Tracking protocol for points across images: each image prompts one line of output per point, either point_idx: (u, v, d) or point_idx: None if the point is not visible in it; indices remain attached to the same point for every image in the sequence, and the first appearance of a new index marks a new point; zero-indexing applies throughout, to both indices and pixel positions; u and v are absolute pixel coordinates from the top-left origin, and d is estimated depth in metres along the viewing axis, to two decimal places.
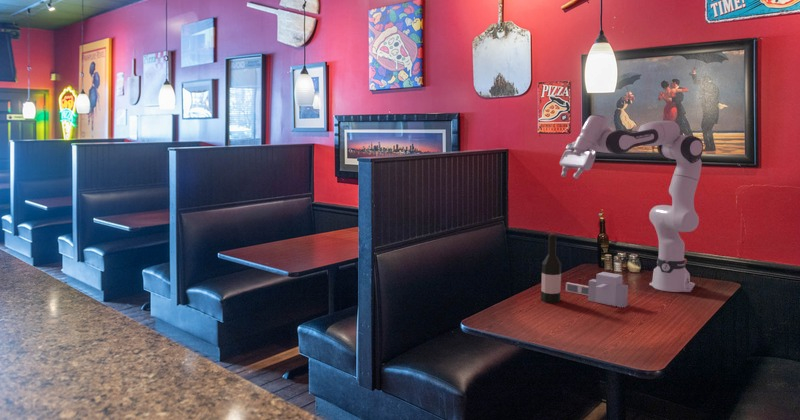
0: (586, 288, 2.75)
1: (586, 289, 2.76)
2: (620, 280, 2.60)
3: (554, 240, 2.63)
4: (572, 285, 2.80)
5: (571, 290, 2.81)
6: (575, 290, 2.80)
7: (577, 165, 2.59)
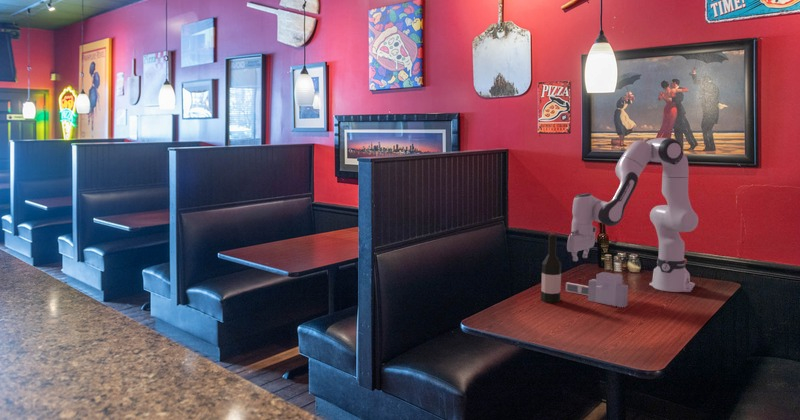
0: (586, 288, 2.75)
1: (586, 289, 2.76)
2: (620, 280, 2.60)
3: (554, 240, 2.63)
4: (572, 285, 2.80)
5: (571, 290, 2.81)
6: (575, 290, 2.80)
7: None
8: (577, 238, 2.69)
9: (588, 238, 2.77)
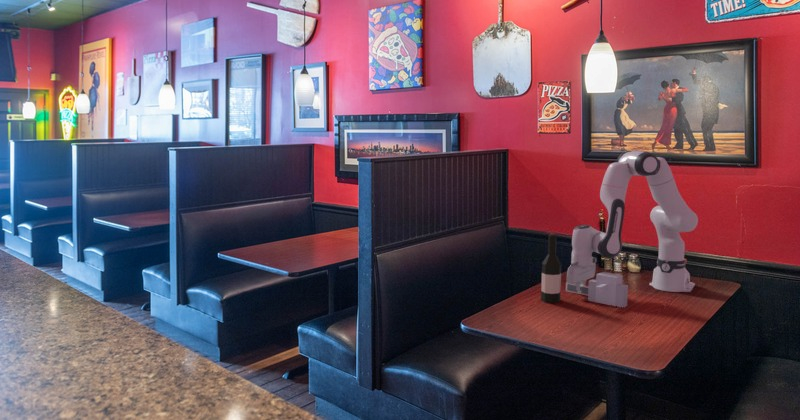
0: (586, 288, 2.75)
1: (586, 289, 2.76)
2: (620, 280, 2.60)
3: (554, 240, 2.63)
4: (572, 285, 2.80)
5: (571, 290, 2.81)
6: (575, 290, 2.80)
7: None
8: (576, 270, 2.71)
9: (588, 269, 2.79)
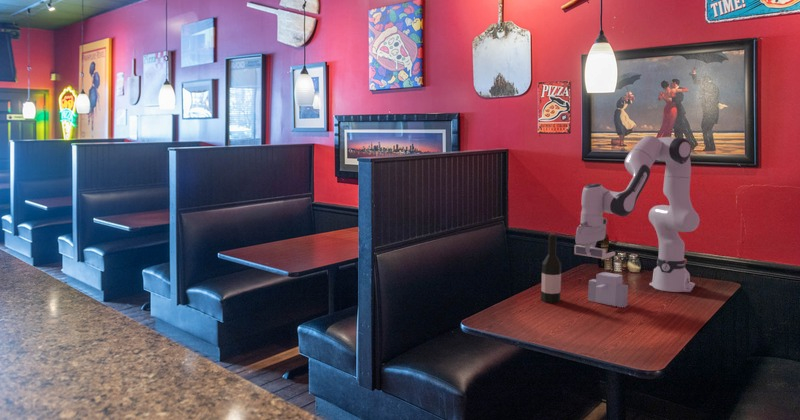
0: (596, 250, 2.62)
1: (596, 251, 2.63)
2: (620, 280, 2.60)
3: (554, 240, 2.63)
4: (581, 247, 2.67)
5: (580, 252, 2.68)
6: (584, 253, 2.67)
7: None
8: (586, 230, 2.58)
9: (598, 230, 2.66)
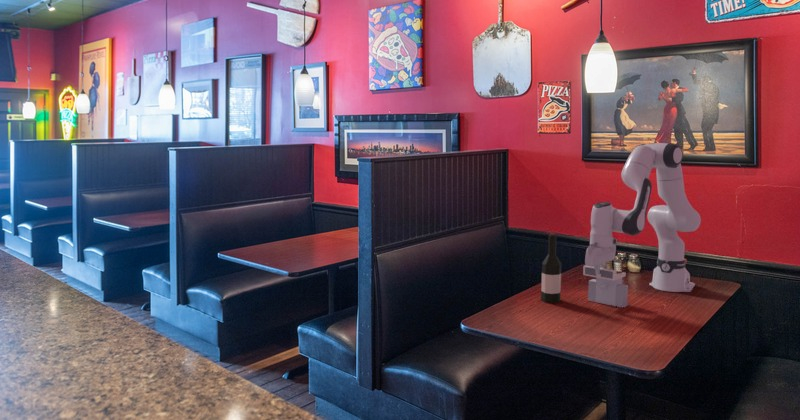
0: (606, 271, 2.53)
1: (606, 272, 2.53)
2: (620, 280, 2.60)
3: (554, 240, 2.63)
4: (590, 268, 2.58)
5: (589, 274, 2.58)
6: (594, 274, 2.57)
7: None
8: (596, 251, 2.48)
9: (608, 250, 2.56)
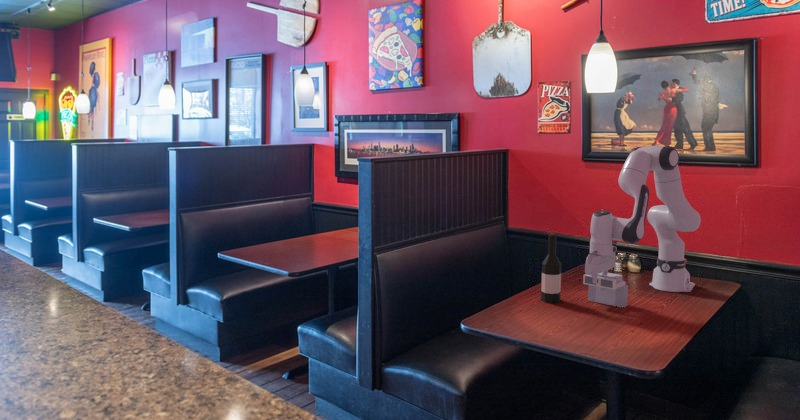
0: (606, 280, 2.53)
1: (606, 281, 2.53)
2: (620, 280, 2.60)
3: (554, 240, 2.63)
4: (590, 277, 2.58)
5: (589, 283, 2.59)
6: None
7: None
8: (596, 260, 2.49)
9: (608, 259, 2.57)
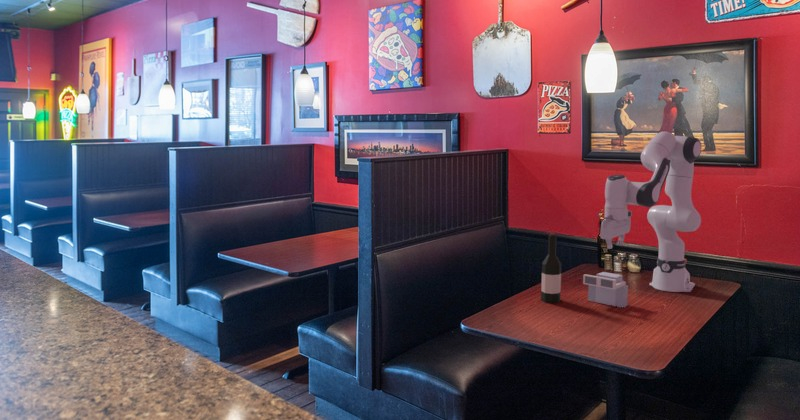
0: (606, 280, 2.53)
1: (606, 281, 2.53)
2: (620, 280, 2.60)
3: (554, 240, 2.63)
4: (590, 277, 2.58)
5: (589, 283, 2.59)
6: (594, 283, 2.57)
7: None
8: (611, 224, 2.47)
9: (623, 223, 2.55)
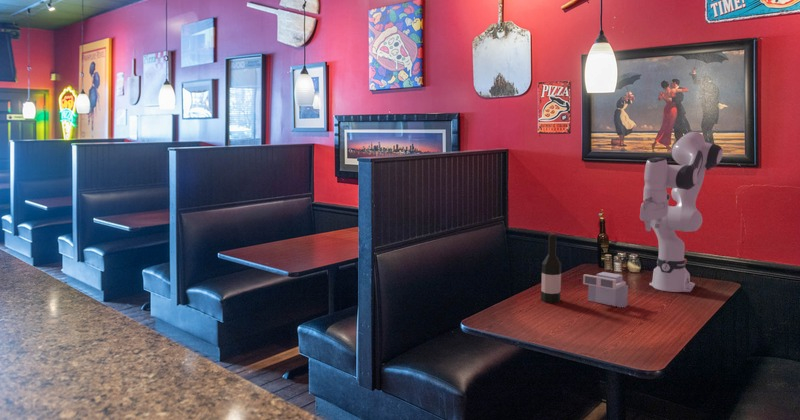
0: (606, 280, 2.53)
1: (606, 281, 2.53)
2: (620, 280, 2.60)
3: (554, 240, 2.63)
4: (590, 277, 2.58)
5: (589, 283, 2.59)
6: (594, 283, 2.57)
7: None
8: (651, 206, 2.46)
9: (661, 206, 2.55)
